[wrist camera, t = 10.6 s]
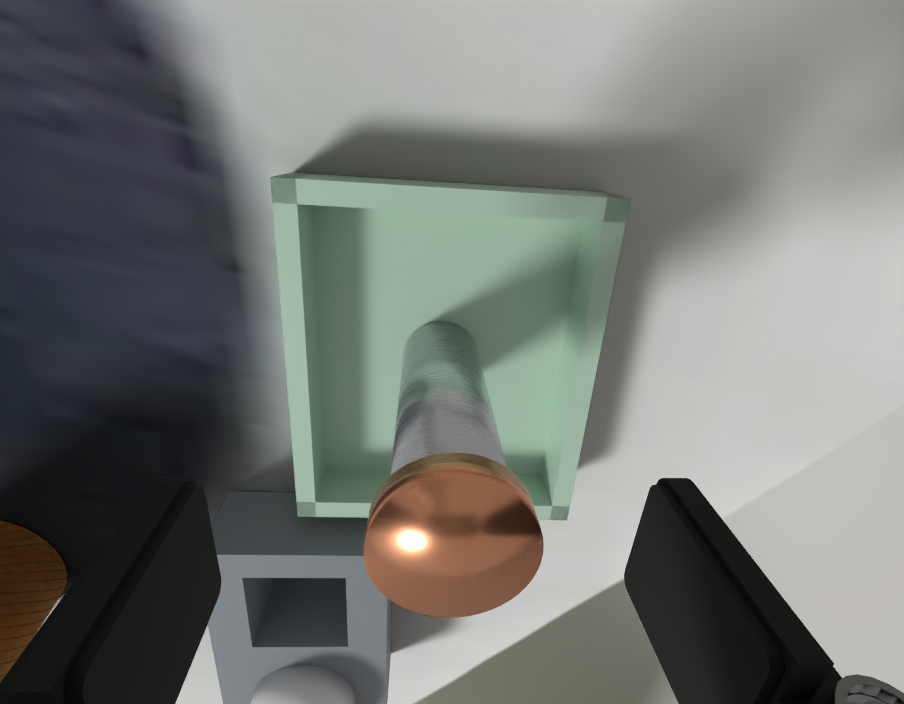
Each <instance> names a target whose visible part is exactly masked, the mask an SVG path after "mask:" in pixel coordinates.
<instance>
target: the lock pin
mask: <svg viewBox="0 0 904 704" xmlns="http://www.w3.org/2000/svg"><path fill="white" fill-rule="evenodd" d="M363 554H364V563H365V567H366V570H367V573H368V575H369V577H370V579H371V580H372V582H373V583H374V585H375V586H376V588H377V589H378V590H379V591H380V592H381V593H382V594H383V595H384V596H386V597H387V598H388V599H389V600H391V601H392V602H394V603H395V604H397V605H399V606H401V607H403V608H405V609H407V610H410V611H413V612H415V613H419V614H423V615H427V616H434V617H448V618H450V617H464V616H471V615H475V614H479V613H483V612H486V611H489V610H492V609H494V608H496V607H498V606H501V605H502V604H504V603H506V602H508V601H509V600H511V599H512V598H514V597H515V596H516V595H518V594H519V593H520V592H521V591H522V590H523V589H524V588H525V587H526V586H527V585H528V584H529V583H530V581H531V580H532V579H533V577H534V575H535V574H536V572H537V570H538V568H539V566H540V563H541V559H542V556H543V536H542V532H541V528H540V525H539V522H538V518H537V515H536V512H535V508H534V505H533V501H532V498H531V496H530V494H529V491H528V489H527V488H526V486H525V485H524V483H523V482H522V481H521V480H520V478H519V477H518V476H517V475H516V474H515V473H513V472H512V471H511V470H510V469H508V468H507V466H506V462H505V458H504V454H503V450H502V446H501V442H500V438H499V434H498V430H497V426H496V422H495V418H494V414H493V410H492V406H491V402H490V398H489V394H488V390H487V386H486V382H485V378H484V374H483V370H482V366H481V362H480V358H479V354H478V350H477V346H476V343H475V341H474V339H473V337H472V336H471V335H470V333H469V332H468V331H467V330H466V329H464V328H463V327H461V326H460V325H458V324H455V323H452V322H448V321H434V322H430V323H427V324H424V325H422V326H421V327H419V328H418V329H416V330H415V331H414V332H413V333H412V334H411V335H410V337H409V338H408V340H407V342H406V344H405V347H404V353H403V363H402V372H401V381H400V390H399V399H398V408H397V417H396V427H395V436H394V445H393V454H392V463H391V472H390V477H389V478H387V479H386V481H385V482H384V483H383V484H382V485H381V486H380V488H379V489H378V491H377V493H376V494H375V496H374V498H373V501H372V503H371V506H370V510H369V516H368V522H367V529H366V535H365V542H364V552H363Z"/></svg>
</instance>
